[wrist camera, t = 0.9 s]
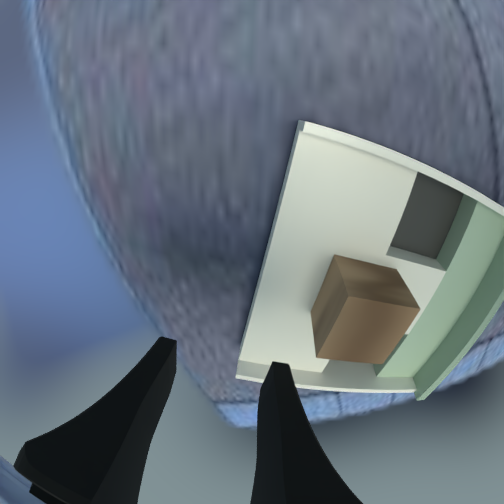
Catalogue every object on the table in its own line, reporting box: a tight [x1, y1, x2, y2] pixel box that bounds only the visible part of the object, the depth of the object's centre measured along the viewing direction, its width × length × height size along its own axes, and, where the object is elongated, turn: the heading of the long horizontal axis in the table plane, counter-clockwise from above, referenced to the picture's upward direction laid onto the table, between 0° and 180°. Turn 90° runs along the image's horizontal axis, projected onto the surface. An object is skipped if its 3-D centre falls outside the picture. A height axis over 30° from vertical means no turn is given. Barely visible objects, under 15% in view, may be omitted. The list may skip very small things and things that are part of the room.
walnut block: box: [310, 254, 420, 364], centre depth 15 cm, size 4×4×4 cm
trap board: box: [236, 120, 504, 400], centre depth 17 cm, size 18×18×4 cm
